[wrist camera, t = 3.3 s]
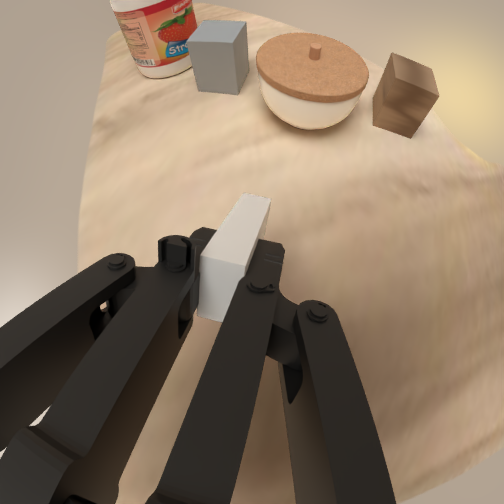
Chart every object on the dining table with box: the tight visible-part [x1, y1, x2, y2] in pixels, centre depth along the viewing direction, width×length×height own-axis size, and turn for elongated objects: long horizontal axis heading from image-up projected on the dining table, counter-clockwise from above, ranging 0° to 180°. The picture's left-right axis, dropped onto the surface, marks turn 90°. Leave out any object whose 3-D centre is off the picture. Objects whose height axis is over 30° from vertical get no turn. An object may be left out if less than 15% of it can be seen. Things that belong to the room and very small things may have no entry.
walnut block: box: [373, 53, 439, 139], centre depth 25 cm, size 5×5×8 cm
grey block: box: [186, 20, 249, 95], centre depth 27 cm, size 5×5×8 cm
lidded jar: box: [256, 33, 369, 130], centre depth 24 cm, size 11×11×9 cm
